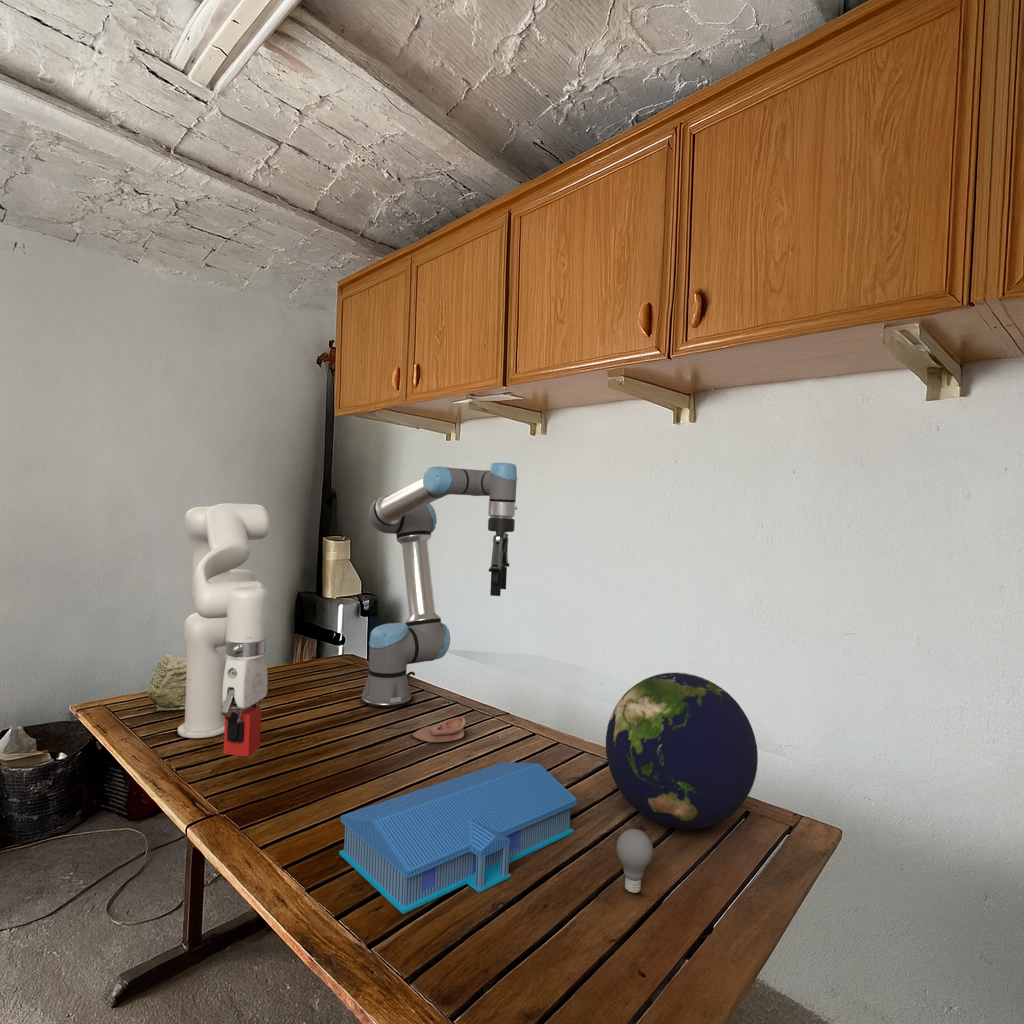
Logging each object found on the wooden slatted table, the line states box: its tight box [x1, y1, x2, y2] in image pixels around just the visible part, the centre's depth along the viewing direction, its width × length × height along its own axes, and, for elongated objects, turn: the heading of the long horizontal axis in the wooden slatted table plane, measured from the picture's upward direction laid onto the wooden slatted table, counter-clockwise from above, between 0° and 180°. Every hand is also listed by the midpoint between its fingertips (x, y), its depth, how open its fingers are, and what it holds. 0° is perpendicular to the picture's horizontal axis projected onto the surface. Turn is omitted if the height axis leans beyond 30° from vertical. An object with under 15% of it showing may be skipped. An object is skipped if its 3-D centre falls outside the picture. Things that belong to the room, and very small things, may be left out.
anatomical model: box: [412, 716, 466, 743], centre depth 171 cm, size 13×4×12 cm
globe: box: [605, 671, 759, 831], centre depth 130 cm, size 30×30×30 cm
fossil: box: [147, 654, 187, 712], centre depth 185 cm, size 9×18×15 cm, turn 132°
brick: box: [222, 706, 262, 757], centre depth 130 cm, size 5×5×8 cm
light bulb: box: [615, 828, 654, 894], centre depth 106 cm, size 6×6×10 cm
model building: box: [338, 761, 578, 915], centre depth 117 cm, size 39×24×10 cm, turn 132°
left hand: (242, 735), depth 130 cm, fingers closed on brick, 4 cm apart
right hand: (498, 592), depth 180 cm, fingers open, 13 cm apart
